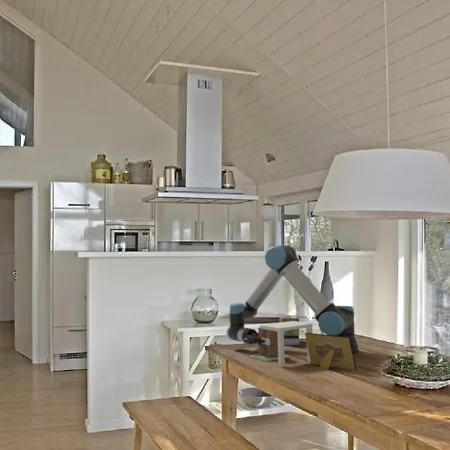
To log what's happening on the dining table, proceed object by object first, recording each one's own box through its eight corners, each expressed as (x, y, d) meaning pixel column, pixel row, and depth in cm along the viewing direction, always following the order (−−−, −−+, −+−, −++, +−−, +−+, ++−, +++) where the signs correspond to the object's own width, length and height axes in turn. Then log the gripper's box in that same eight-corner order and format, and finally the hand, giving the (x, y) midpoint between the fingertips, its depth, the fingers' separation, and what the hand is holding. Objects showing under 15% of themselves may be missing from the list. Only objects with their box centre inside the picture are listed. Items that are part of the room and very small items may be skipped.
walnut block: (258, 353, 302) (258, 327, 302) (268, 352, 305) (268, 326, 305) (269, 356, 294) (269, 329, 294) (279, 355, 297) (279, 328, 298)
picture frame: (356, 369, 267) (353, 335, 266) (345, 375, 261) (342, 340, 260) (312, 363, 283) (309, 331, 282) (301, 368, 276) (298, 336, 275)
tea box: (300, 345, 331) (299, 317, 332) (281, 345, 331) (280, 318, 332) (297, 340, 346) (296, 314, 347) (279, 340, 347) (278, 314, 347)
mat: (249, 357, 302) (249, 355, 302) (272, 353, 309) (272, 351, 309) (266, 361, 290) (266, 359, 290) (289, 357, 297) (289, 356, 297)
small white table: (261, 362, 288) (260, 325, 289) (294, 356, 299) (293, 320, 299) (280, 367, 276) (279, 328, 276) (314, 361, 287) (313, 324, 287)
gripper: (263, 340, 320) (291, 346, 300) (232, 345, 309) (259, 351, 290) (262, 326, 320) (290, 331, 300) (232, 330, 310) (259, 335, 290)
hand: (275, 341), depth 295 cm, fingers closed on walnut block, 6 cm apart
